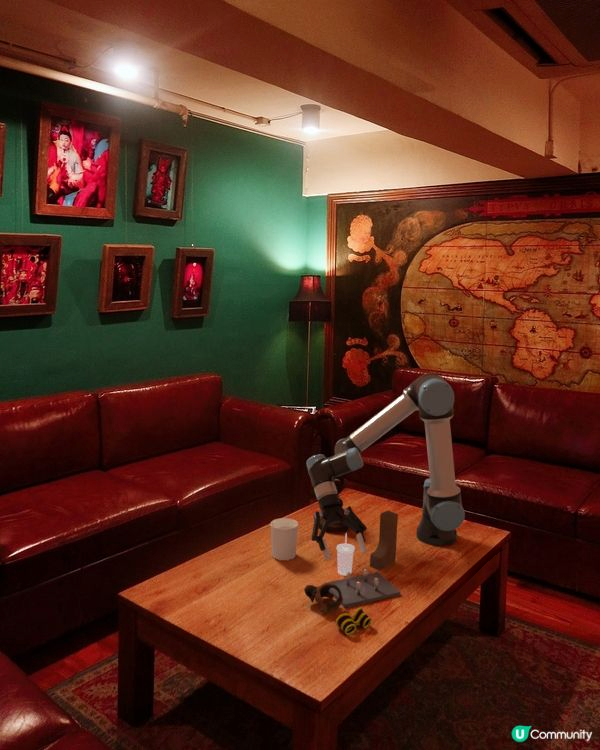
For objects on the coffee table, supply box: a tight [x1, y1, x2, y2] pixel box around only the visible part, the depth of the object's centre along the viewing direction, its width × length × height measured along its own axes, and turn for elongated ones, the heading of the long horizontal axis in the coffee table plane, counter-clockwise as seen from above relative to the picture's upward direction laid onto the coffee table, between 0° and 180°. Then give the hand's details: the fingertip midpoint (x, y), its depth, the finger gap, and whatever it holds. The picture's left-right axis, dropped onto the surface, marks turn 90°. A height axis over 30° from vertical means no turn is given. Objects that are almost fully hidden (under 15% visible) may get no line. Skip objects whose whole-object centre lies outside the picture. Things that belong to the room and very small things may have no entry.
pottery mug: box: [303, 582, 343, 615], centre depth 198 cm, size 12×10×8 cm
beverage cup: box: [336, 532, 356, 577], centre depth 219 cm, size 6×6×14 cm
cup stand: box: [323, 568, 402, 609], centre depth 208 cm, size 20×14×5 cm
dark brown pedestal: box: [319, 475, 353, 533], centre depth 256 cm, size 15×15×20 cm
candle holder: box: [270, 517, 299, 561], centre depth 230 cm, size 10×10×12 cm
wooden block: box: [369, 510, 399, 571], centre depth 225 cm, size 9×4×18 cm, turn 135°
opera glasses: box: [335, 607, 373, 636], centre depth 187 cm, size 10×5×5 cm, turn 126°
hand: (346, 555), depth 217 cm, fingers open, 13 cm apart
